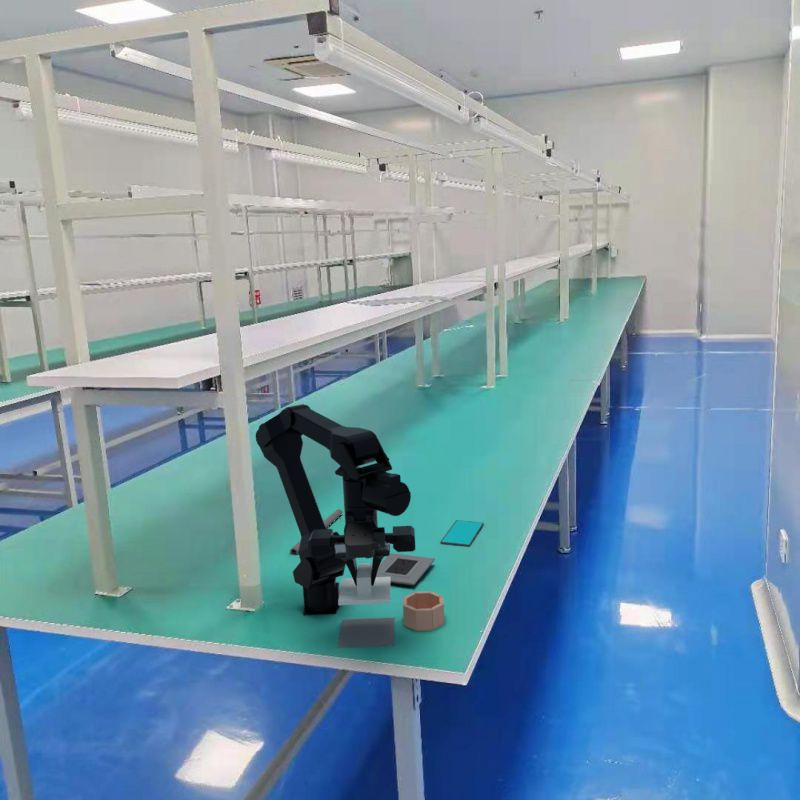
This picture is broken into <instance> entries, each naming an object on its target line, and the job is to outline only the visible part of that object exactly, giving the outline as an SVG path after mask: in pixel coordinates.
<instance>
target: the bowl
mask: <svg viewBox="0 0 800 800" xmlns="http://www.w3.org/2000/svg"><path fill="white" fill-rule="evenodd" d="M402 608H403V610H402V612H403V614H402V615H403V625H404V627H406V628H409V629H411V630H413V631H415V632H421V631H422V632H425V631H434V630H436V629H438V628H439V627H442V626H444V625H445V604H444V597H443V595H441V594H438V593H437V592H433V591H430V590H429V591H413V592H412V593H410V594H407V595H405V596H404V597H402Z"/></svg>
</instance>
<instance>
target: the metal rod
mask: <svg viewBox="0 0 800 800" xmlns="http://www.w3.org/2000/svg"><path fill="white" fill-rule="evenodd" d="M343 512H344V511H343V510H342V509H340V508H339V509H336V510H335V511H333V512H332V514H331V515H329V516H328V517H327V518H326V519H323V522H324V524H325V527H326V528H327V527H328V526H329V525H330V524H331V523H332V522H334V520H336V519H337V518H338V517H339V516H340V515H341V514H342V513H343ZM343 514H344V513H343ZM343 514H342V515H343ZM340 517H341V516H340ZM340 517H339V518H340ZM339 518H338V519H339ZM338 519H337V520H338ZM337 520H336V521H337ZM334 523H335V522H334ZM332 524H333V523H332ZM332 524H331V525H332ZM331 525H330V526H331ZM330 526H329V527H330ZM329 527H328V528H329ZM328 528H327V529H328ZM299 546H300V541H299V542H297V543H296V544H295V545H294V546H293V547H291V549H290V550H289V554H290V555H291V556H292V555H294V556H298V555H299V553H298V552H299Z"/></svg>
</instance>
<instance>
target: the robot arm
mask: <svg viewBox="0 0 800 800" xmlns="http://www.w3.org/2000/svg"><path fill="white" fill-rule="evenodd" d="M302 436H305V437H307V438H308V439H310V440H312V441H314V442H315V443H317V444H319V445H321V446H323V447H324V448H326V449H327V450H329V455H330V458H331V460H334V461H335V463H337V465H339V467H338V468H337V469H336V470H335V471H334V474H335V475H336V476H339V477H342V489H343V491H342V492H343V507H344V508H343V509H344V511H343V512H344V527H343V534H339V532H338V531H334V530H333V528H326V527H325V524H324V522H323V521H324V519H323V516H322V514H321V511H320V509H319V506H318V503H317V500H316V498H315V496H314V492H313V489H312V487H311V484H310V481H309V478H308V476H307V473H306V470H305V468H304V464H303V462H302V458H301V456H302V450H303V445H304V442H303V438H302ZM255 442H256V444H257V445H258V446H259V448H260V450H261V453H262V455H263V457H264V458H265V460H267V461H268V462H269V463H270V464H272V465H273V466H274V467H275V468H276V470H277V472H278V475H279V477H280V481H281V483H282V486H283V489H284V492H285V494H286V497H287V499H288V503H289V506H290V509H291V511H292V514H293V516H294V519H295V522H296V525H297V528H298V531H299V533H300V541H299V542H300V546H299V552H298V556H299V560H300V562H299V563H298V564H297V565H296V567H295V568H294V569H293V571H292V576H293V579H294V583H295V584H298V585H299V586H301V587H302V594H303V611H302V615H303V616H318V615H319V616H321V615H324V616H325V615H326V616H327V615H336V614H337V613H338V609H339V608H340V606H341V605H338V599H339V594H340V588H341V584H340V582H338V581H337V578H339V577H342V576H344V574H345V569H346V567H347V568H348V571H349V573H350V575H351V578H353V580H354V583H355V585H356V586H357V570H358V565H357V559H361V558H362V559H363V558H365V559H372V561H371V564H372V573H371V585H372V586H374V582H375V579H376V575H377V572H378V568H379V565H380V564H381V563H382V562H383V560H384V558H385V557H388V556H389V555H390V554H391V545H392V548H393V550H395V551H396V552H397V553H408V552H411V553H412V552H414V551H416V533H415V532H416V531H415V528H414V526H412V525H396V526H395V525H394V526H392V532H386V531H385V530H386V528H385V527H383V526H382V527H380V526H378V524H379V523H378V512H381V513H383V514H386V515H390V516H393V517H399V516H401V515H403V514H404V513H405V512H406V511H407V509H408V508H409V506H410V503H411V500H412V499H411V497H412V493H411V491H410V488H409V486H408V485H407V484H406V483H405V482H402V480H401V475H400V474H398V473H390V472H389V471H392V470H393V467H392V465H391V462H390V458H389V457H388V455H387V453H386V452H385V450H384V448H383V446H382V444H381V442H380V440H379V438H378V436H377V434H375V432H373V431H372V430H369V429H365V428H362V427H354V426H352V427H351V426H345V425H342V424H340V423H338V422H336V421H334V420H332V419H330V418H328V417H326V416H324V415H322V414H321V413H319V412H317V411H316V410H313V409H312V408H311V407H310V406H309V405H308V404H304V403H302V404H297V405H296V404H295V405H291V406H286V407H285V408H284V409H282V410H281V411H280V412H279V413H278V414H277V415H275V416H273V417H272V418H270V419H268V420H266V421H265V422H264V423H261V424H260V425H259V426H258V429H257V430H256V432H255ZM374 462H376V463H374ZM370 463H371V464H370ZM367 464H368V465H367ZM361 466H362V467H361Z"/></svg>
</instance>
